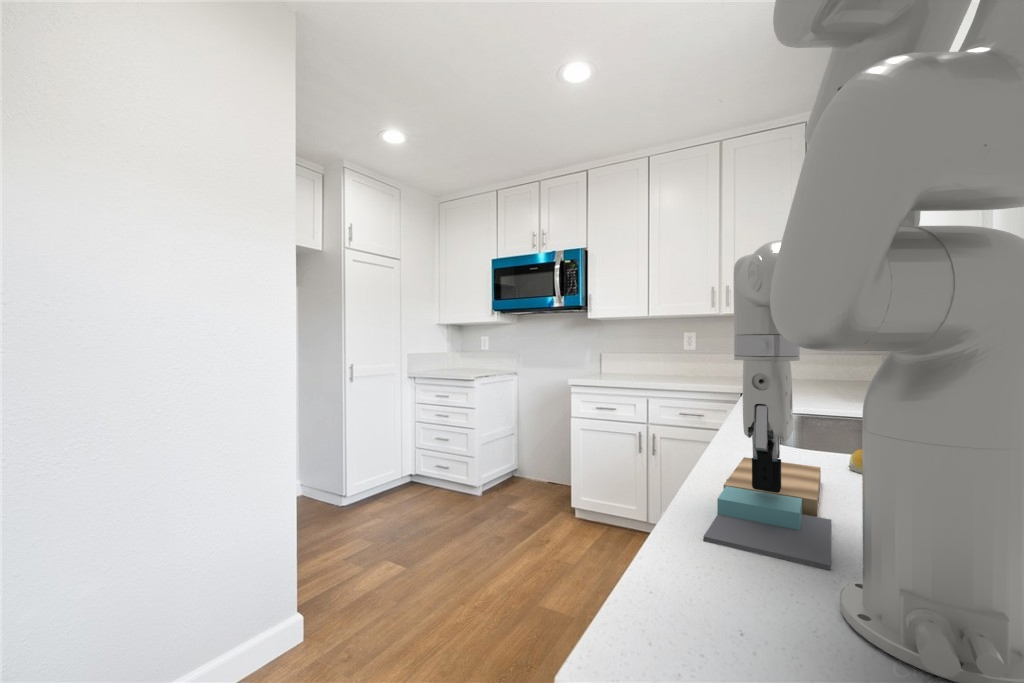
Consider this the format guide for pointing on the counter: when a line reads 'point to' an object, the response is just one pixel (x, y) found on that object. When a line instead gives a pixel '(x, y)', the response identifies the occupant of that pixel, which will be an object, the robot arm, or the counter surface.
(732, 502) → the teal tile
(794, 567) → the counter surface
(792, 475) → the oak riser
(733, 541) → the charcoal mat
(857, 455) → the bread roll
